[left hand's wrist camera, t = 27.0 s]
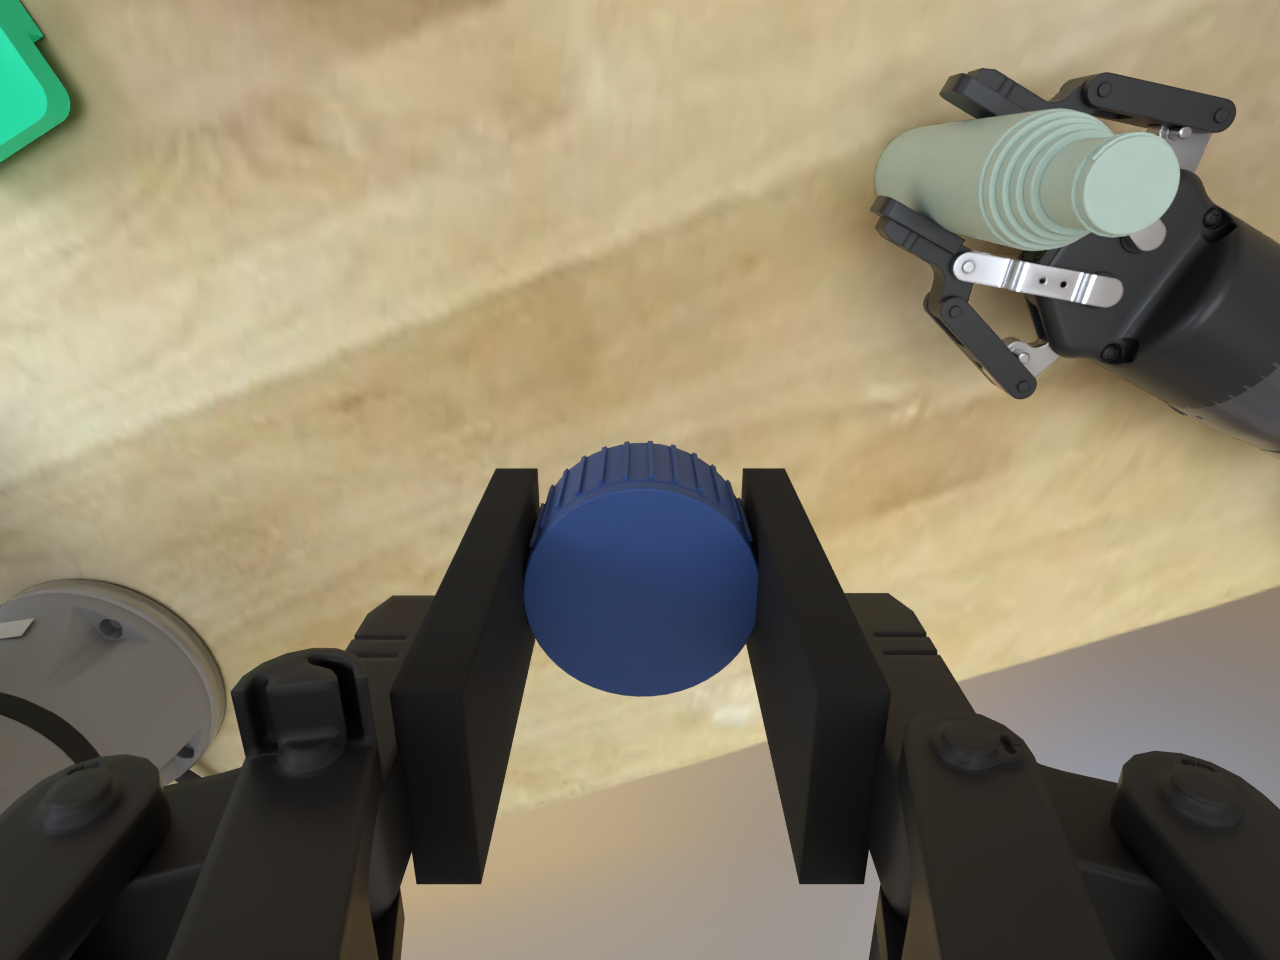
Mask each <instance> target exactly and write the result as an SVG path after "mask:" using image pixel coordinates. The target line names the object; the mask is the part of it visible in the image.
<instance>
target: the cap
mask: <svg viewBox="0 0 1280 960" xmlns="http://www.w3.org/2000/svg"><path fill="white" fill-rule="evenodd" d="M751 541H753V538H752V535H751V531H750V528H749V525H748V521H747V518H746V515H745V512H744V508H743V505H742V502H741V499H740V498H736V496H735V495H734V493H733V490H732V486H731V483H730V481H729V480H727V481H725V480H724V479H723V478H722V476H721V475H719V474H718V473H717V471H716V467H715V466H714V465H711V466H709V465H708V464H707V463H705V462H704V461H702V460H701V459H699V458H698V457H697V454H695V453H692V454H690V453H688V452H685V451H682V450H680V449H677V448H676V446H675V445H672V444H671V447H670V446H665V445H661V444H653V441H648V443H631V444H630V443H629V442H625V444H624V445H618V446H615V447H611V448H607V447H603V448H602V451H599V452H597V453H595V454H592V455H590V456H589V457H586V456H583V457H582V458H581V461H580V462H579V463H578V464H576V465H575V466H574V467H572V468H571V469H570V470H568V469H566V470H565V471H564V473H563V477H562V478H561V479H560V480H559V481H558V483H557V484H556V485H555V486H554V485H552V486H551V487H550V490H549V493H548V497H547V500H546V503H545V504H543V503H542V504H541V507H540V510H539V513H538V517H537V520H536V524H535V527H534V530H533V534H532V537H531V541H530V544H529V547H531V549H530V553H529V556H528V560H527V563H526V572H525V576H524V585H523V593H524V607H525V612H526V616H527V620H528V623H529V625H530V628H531V630H532V633H533V634H534V636H535V638H536V640H537V641H538V643H539V645H540V646H541V648H542V649H543V650H544V651H545V653H546V654H547V655H548V656H549V657H550V659H551V660H552V661H553V662H554V663H555V664H556V665H557V666H559V667H560V668H561V669H563V670H564V671H565V672H566V673H568V674H569V675H571V676H572V677H574V678H576V679H577V680H579V681H581V682H583V683H585V684H587V685H589V686H591V687H594V688H597V689H600V690H603V691H606V692H610V693H614V694H619V695H626V696H658V695H666V694H670V693H674V692H679V691H682V690H685V689H688V688H690V687H693V686H695V685H697V684H699V683H702V682H704V681H706V680H707V679H709V678H711V677H712V676H714V675H715V674H717V673H718V672H720V671H721V670H722V669H723V668H724V667H726V666H727V665H728V664H729V663H730V662H731V661H732V660H733V659H734V658H735V657H736V656H737V655H738V654H739V652H740V651H741V650H742V648H743V647H744V645H745V644H746V642H747V641H748V639H749V637H750V635H751V633H752V631H753V629H754V627H755V619H756V603H757V587H758V565H757V561H756V558H755V555H754V551H753V548H752V544H751Z"/></svg>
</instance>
